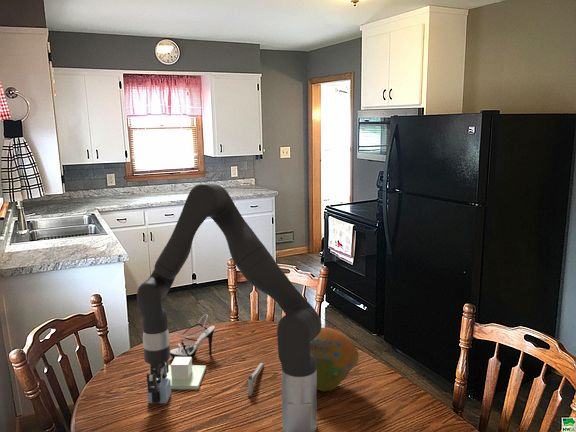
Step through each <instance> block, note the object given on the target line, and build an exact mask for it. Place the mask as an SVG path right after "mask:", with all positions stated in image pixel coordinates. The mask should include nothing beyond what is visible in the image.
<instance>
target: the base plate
mask: <svg viewBox="0 0 576 432" xmlns="http://www.w3.org/2000/svg"><path fill="white" fill-rule="evenodd" d="M168 369H169V372H168V373H167V379H170V382H171V390H199V388H200V387H201V386H200V385H201V383H202V381H203V378H204V376H205V373H206V371H207V365H201V364H200V365H197V364H196V365H194V364H192V373H191V375H190V377H189V380H188V379H172V376H171V364H168Z"/></svg>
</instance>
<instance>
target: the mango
mask: <svg viewBox="0 0 576 432" xmlns="http://www.w3.org/2000/svg"><path fill="white" fill-rule="evenodd" d="M310 354H312V355H314V356H315V358H316V361H317V391H318V390H319V391H321V392H330V391H332V390H334V389H336V388H337V387H338V386H339V385H340V384H341V383H342V382H343V381H345V379H346V378H347V377H348V375H349V373H350V371H352V370H353V369H354V368H355V367H356V366H357V365H358V363H359V352H358V349H357V347H356V346H355V344H354V342H353V341H352V340H351V338H349V337H348V335H346V334H344V332H342V331H341V330H337V329H334V328H332V327H321V331H320V333H319V334H318V335H317V336H316V337H315V338H314V339H313V340H312V341H311V342H310Z"/></svg>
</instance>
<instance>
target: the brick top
mask: <svg viewBox="0 0 576 432" xmlns="http://www.w3.org/2000/svg"><path fill="white" fill-rule="evenodd" d="M157 380H159V378H157ZM153 387H154V386H153ZM146 389H147V390H146V391H147V403H148V404H154V403H153V402H152V393H148V386H147V388H146ZM171 394H172V389H171V382H170V379H167V378H162V382H161V383H160V402H159V403H158V404H167V402H168V400H169V399H170V397H171Z"/></svg>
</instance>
